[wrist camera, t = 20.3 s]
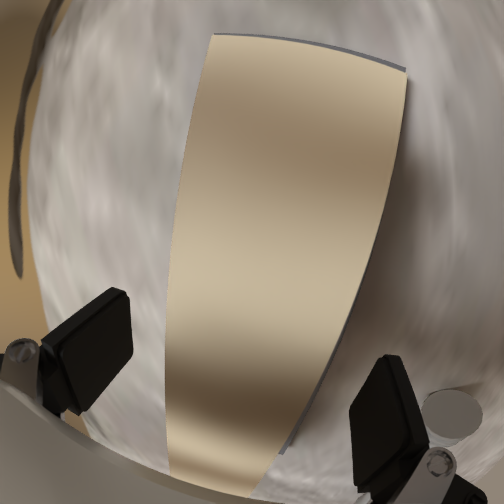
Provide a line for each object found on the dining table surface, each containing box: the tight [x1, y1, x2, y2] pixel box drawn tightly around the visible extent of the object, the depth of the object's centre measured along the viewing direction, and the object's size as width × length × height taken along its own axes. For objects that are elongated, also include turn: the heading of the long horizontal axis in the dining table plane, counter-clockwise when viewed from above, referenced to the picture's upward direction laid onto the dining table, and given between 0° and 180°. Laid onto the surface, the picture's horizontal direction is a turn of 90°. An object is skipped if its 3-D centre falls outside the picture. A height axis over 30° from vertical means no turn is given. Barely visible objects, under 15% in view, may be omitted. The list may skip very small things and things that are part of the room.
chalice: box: [354, 390, 483, 504], centre depth 14 cm, size 7×7×18 cm
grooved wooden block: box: [165, 35, 407, 498], centre depth 11 cm, size 20×4×6 cm, turn 169°
